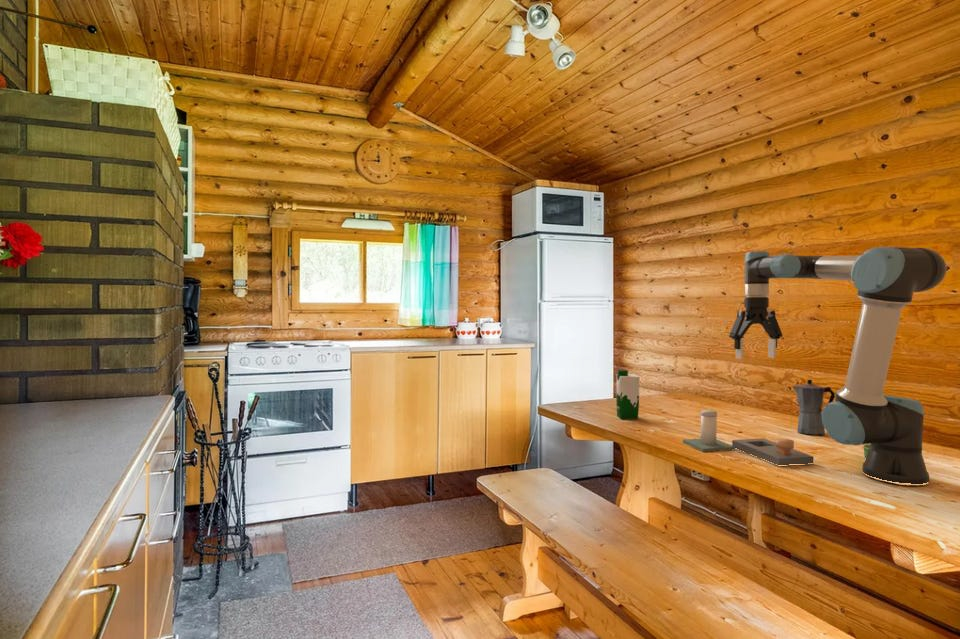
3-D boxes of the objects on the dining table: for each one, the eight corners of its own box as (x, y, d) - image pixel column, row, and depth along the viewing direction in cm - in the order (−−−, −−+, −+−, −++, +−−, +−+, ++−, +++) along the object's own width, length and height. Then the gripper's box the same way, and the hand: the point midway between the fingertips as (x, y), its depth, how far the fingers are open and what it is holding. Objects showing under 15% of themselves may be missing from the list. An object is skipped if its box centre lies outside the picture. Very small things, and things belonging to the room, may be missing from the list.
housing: (813, 464, 169) (813, 456, 169) (778, 466, 167) (778, 458, 167) (763, 445, 190) (763, 438, 190) (732, 447, 188) (732, 440, 188)
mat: (735, 449, 185) (735, 446, 185) (702, 451, 183) (702, 448, 183) (713, 440, 197) (713, 437, 197) (682, 442, 195) (682, 439, 195)
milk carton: (614, 415, 239) (614, 369, 238) (635, 415, 239) (636, 369, 238) (619, 419, 230) (619, 371, 229) (641, 419, 230) (641, 371, 229)
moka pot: (797, 427, 217) (798, 376, 216) (840, 435, 204) (842, 381, 203) (784, 430, 212) (785, 378, 211) (828, 439, 199) (829, 383, 198)
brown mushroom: (797, 461, 171) (797, 442, 170) (782, 462, 170) (783, 442, 169) (785, 456, 176) (785, 438, 175) (771, 457, 175) (771, 438, 174)
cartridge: (715, 441, 191) (716, 410, 191) (716, 445, 187) (717, 413, 186) (700, 440, 193) (700, 409, 193) (700, 444, 188) (701, 412, 188)
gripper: (777, 296, 198) (776, 356, 199) (718, 296, 191) (717, 358, 192) (794, 296, 191) (793, 358, 191) (734, 296, 184) (733, 360, 184)
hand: (755, 358), depth 192 cm, fingers open, 13 cm apart
